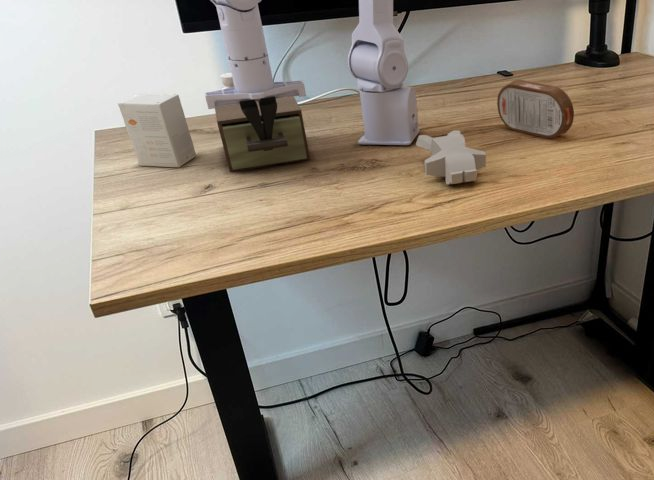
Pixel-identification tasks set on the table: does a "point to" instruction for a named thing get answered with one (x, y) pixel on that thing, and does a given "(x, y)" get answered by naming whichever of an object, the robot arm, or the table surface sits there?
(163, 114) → the small box
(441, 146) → the grey branched angular piece
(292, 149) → the drawer
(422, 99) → the table surface
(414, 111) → the robot arm
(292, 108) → the cabinet
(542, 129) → the tin
